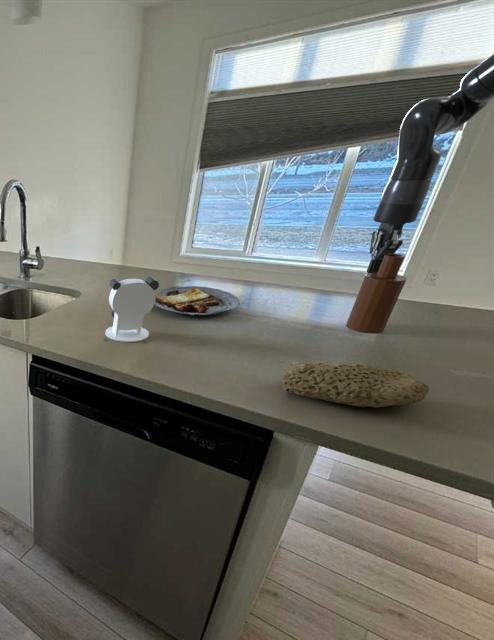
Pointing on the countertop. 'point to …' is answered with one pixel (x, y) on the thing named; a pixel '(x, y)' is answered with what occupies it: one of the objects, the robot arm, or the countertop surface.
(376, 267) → the robot arm
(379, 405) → the sponge
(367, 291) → the bottle
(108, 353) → the countertop surface
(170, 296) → the food plate
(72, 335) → the countertop surface
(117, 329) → the panda figurine
